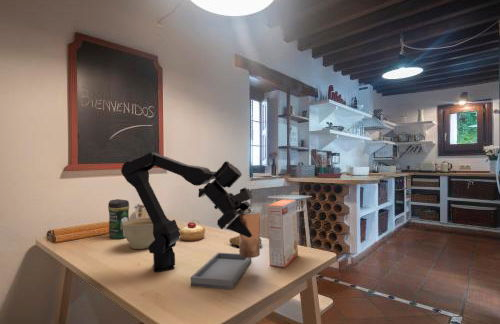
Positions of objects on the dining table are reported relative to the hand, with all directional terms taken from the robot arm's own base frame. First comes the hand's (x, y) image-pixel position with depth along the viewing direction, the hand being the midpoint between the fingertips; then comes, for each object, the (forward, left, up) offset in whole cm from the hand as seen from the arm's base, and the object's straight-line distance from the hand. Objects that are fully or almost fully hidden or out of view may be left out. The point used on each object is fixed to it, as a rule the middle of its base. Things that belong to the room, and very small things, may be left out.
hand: (253, 233), depth 88 cm
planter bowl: (-30, +50, -13) cm, 60 cm away
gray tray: (-8, +6, -13) cm, 16 cm away
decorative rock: (+10, +30, -13) cm, 34 cm away
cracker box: (+15, +7, -13) cm, 21 cm away
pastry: (-8, +52, -13) cm, 54 cm away
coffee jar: (-40, +72, -13) cm, 83 cm away
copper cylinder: (-1, +1, -7) cm, 7 cm away
